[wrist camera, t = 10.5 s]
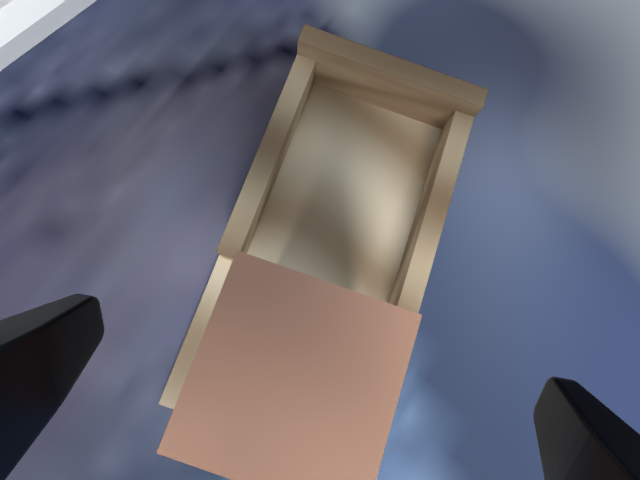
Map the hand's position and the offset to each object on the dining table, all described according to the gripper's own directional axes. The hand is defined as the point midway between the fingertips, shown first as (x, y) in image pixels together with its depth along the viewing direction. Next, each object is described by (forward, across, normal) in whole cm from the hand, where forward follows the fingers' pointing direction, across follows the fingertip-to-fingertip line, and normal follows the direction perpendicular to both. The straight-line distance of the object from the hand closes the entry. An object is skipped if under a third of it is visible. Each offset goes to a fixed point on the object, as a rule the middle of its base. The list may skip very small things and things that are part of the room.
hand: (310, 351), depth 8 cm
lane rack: (+12, +1, +4) cm, 13 cm away
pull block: (+9, +2, +8) cm, 12 cm away
